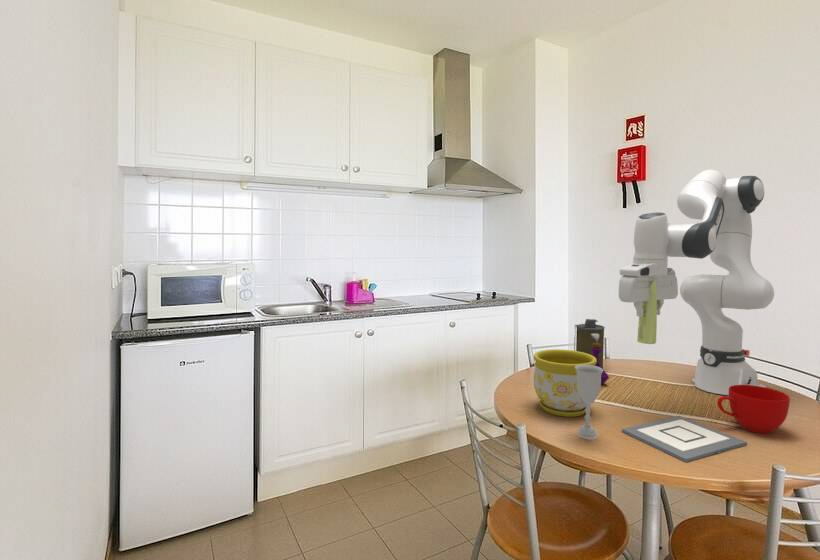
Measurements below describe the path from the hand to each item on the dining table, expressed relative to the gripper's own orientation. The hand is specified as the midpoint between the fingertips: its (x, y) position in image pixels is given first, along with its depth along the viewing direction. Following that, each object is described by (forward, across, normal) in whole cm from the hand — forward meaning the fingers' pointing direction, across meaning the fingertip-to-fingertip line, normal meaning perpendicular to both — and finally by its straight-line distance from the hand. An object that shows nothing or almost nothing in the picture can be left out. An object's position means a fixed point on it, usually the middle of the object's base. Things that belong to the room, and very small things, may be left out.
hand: (648, 315), depth 130 cm
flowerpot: (+29, +21, -11) cm, 38 cm away
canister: (+29, -17, -40) cm, 52 cm away
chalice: (+29, +28, +6) cm, 41 cm away
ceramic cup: (+29, -15, +20) cm, 38 cm away
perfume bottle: (+29, -6, -26) cm, 40 cm away
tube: (+8, 0, 0) cm, 8 cm away
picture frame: (+29, +7, +17) cm, 34 cm away
